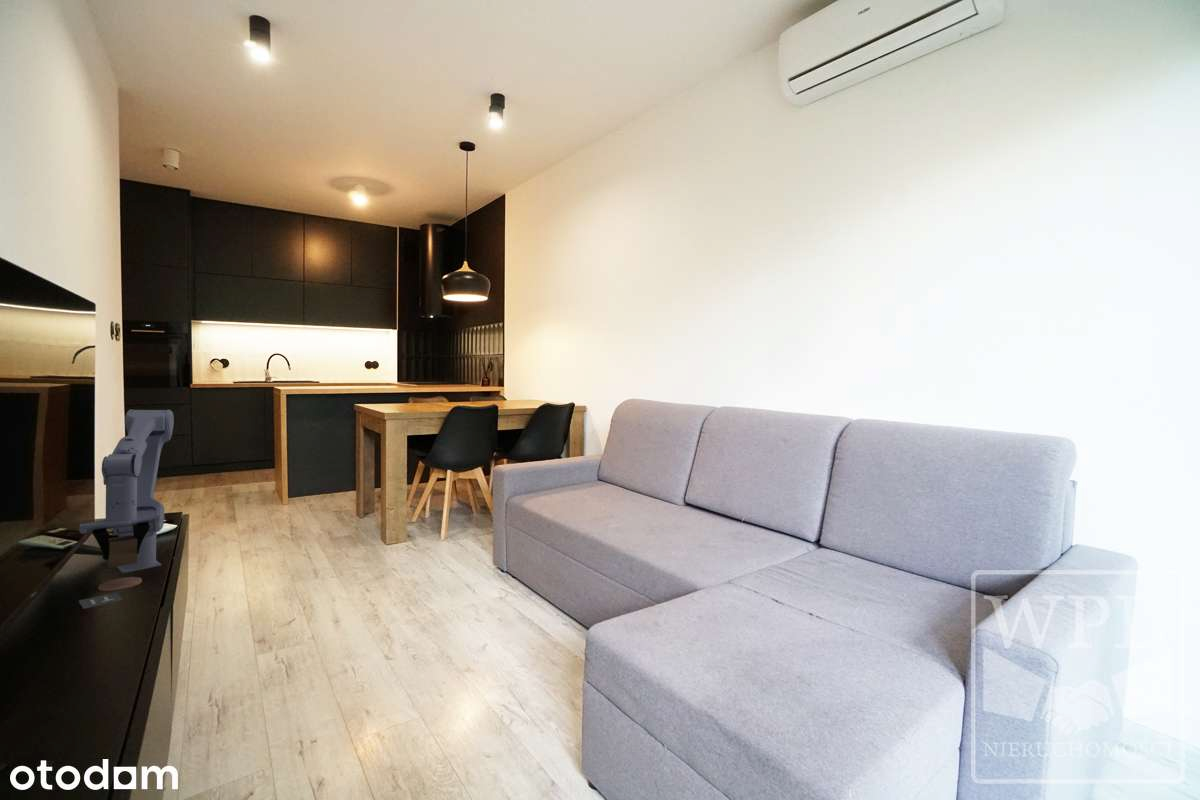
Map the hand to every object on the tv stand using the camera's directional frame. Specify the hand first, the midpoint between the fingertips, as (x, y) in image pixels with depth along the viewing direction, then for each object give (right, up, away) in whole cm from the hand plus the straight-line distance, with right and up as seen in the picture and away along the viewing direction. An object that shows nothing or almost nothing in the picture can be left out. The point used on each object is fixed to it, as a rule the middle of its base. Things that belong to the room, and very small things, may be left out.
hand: (120, 555), depth 129 cm
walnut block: (0, -2, 0) cm, 2 cm away
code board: (+3, -8, -9) cm, 12 cm away
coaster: (0, -8, 0) cm, 8 cm away
